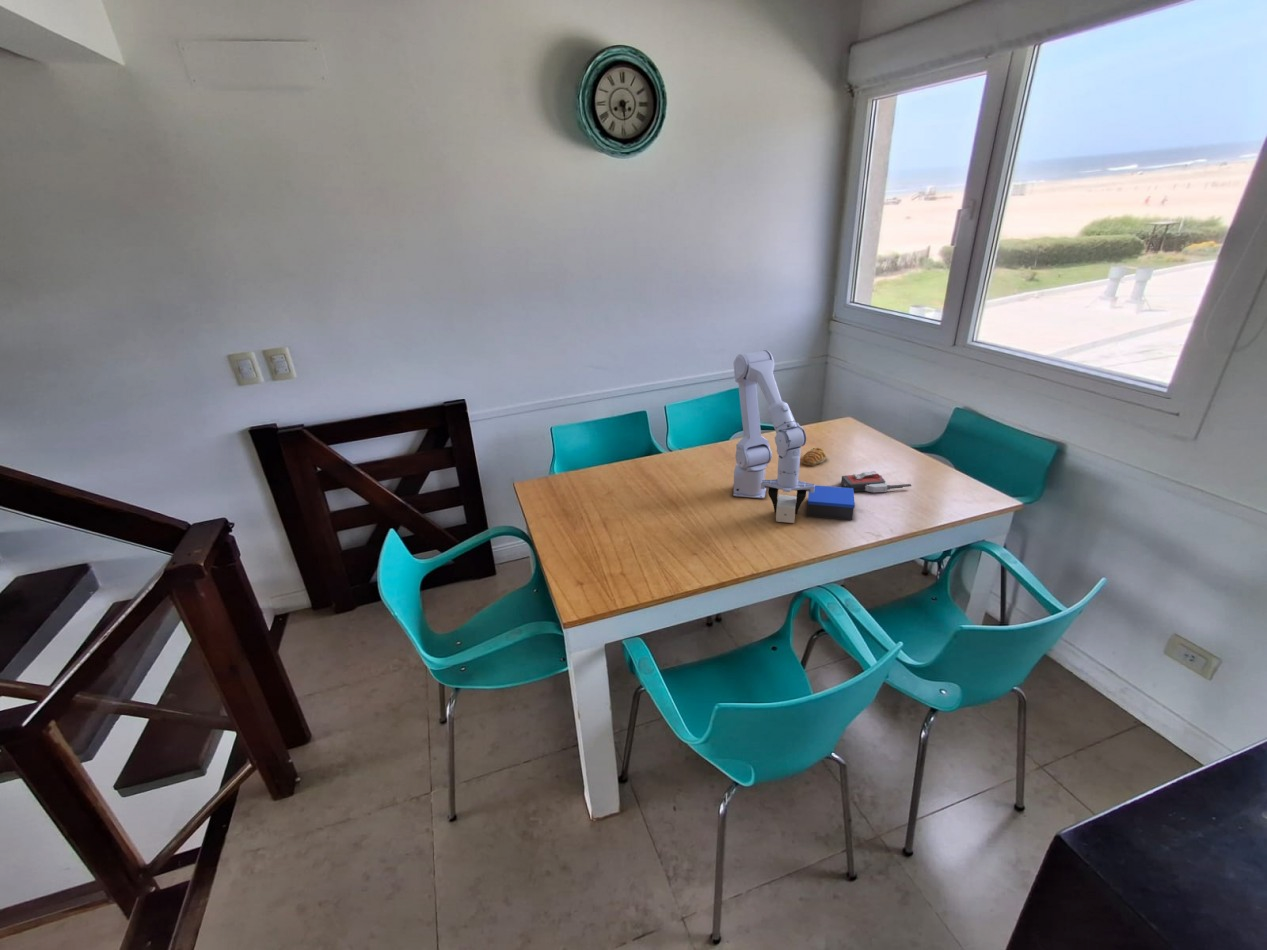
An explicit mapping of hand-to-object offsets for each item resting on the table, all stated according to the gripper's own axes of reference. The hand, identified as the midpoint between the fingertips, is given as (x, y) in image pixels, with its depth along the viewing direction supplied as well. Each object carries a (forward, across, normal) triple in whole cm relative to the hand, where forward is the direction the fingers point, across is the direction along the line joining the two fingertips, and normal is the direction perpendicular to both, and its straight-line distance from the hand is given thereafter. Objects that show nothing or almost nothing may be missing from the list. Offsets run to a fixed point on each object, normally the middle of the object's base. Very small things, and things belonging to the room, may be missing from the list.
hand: (785, 511), depth 159 cm
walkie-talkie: (+2, +25, +24) cm, 35 cm away
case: (+1, 0, 0) cm, 1 cm away
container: (+2, +12, +7) cm, 14 cm away
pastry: (+2, +7, +41) cm, 42 cm away
